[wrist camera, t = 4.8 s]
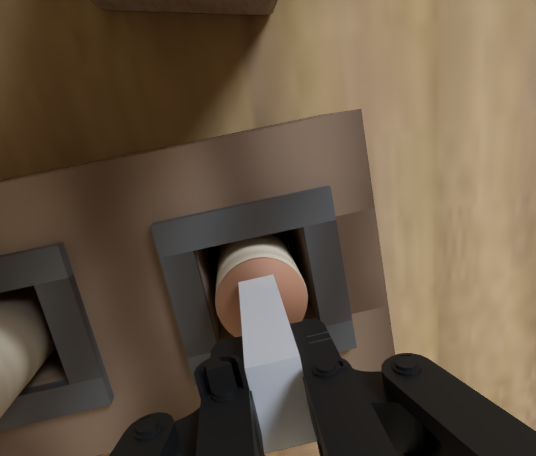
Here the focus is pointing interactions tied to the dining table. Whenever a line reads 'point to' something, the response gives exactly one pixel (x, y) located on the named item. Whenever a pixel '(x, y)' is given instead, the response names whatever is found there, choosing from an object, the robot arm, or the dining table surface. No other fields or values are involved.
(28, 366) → the peg
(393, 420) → the robot arm
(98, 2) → the wooden block
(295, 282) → the peg
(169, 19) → the dining table surface
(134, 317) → the socket block
